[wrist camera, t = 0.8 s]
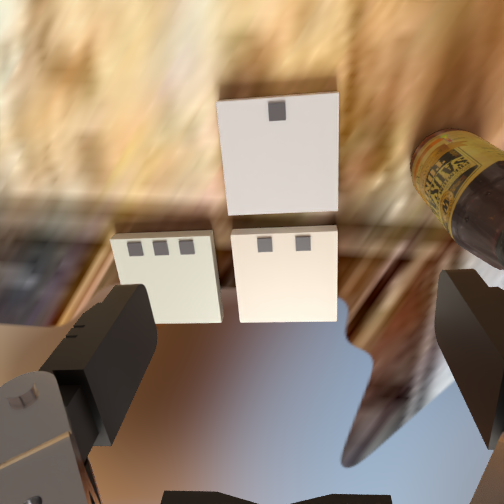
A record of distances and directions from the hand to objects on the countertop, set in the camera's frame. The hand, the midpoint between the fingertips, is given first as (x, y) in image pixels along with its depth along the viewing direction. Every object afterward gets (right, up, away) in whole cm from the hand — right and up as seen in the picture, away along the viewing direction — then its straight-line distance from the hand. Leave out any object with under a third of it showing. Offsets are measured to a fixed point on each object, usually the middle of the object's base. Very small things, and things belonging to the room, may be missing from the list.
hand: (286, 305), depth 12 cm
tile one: (+2, +10, +26) cm, 28 cm away
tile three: (-9, -1, +33) cm, 34 cm away
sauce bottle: (+16, +9, +25) cm, 31 cm away
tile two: (+3, -1, +31) cm, 31 cm away
